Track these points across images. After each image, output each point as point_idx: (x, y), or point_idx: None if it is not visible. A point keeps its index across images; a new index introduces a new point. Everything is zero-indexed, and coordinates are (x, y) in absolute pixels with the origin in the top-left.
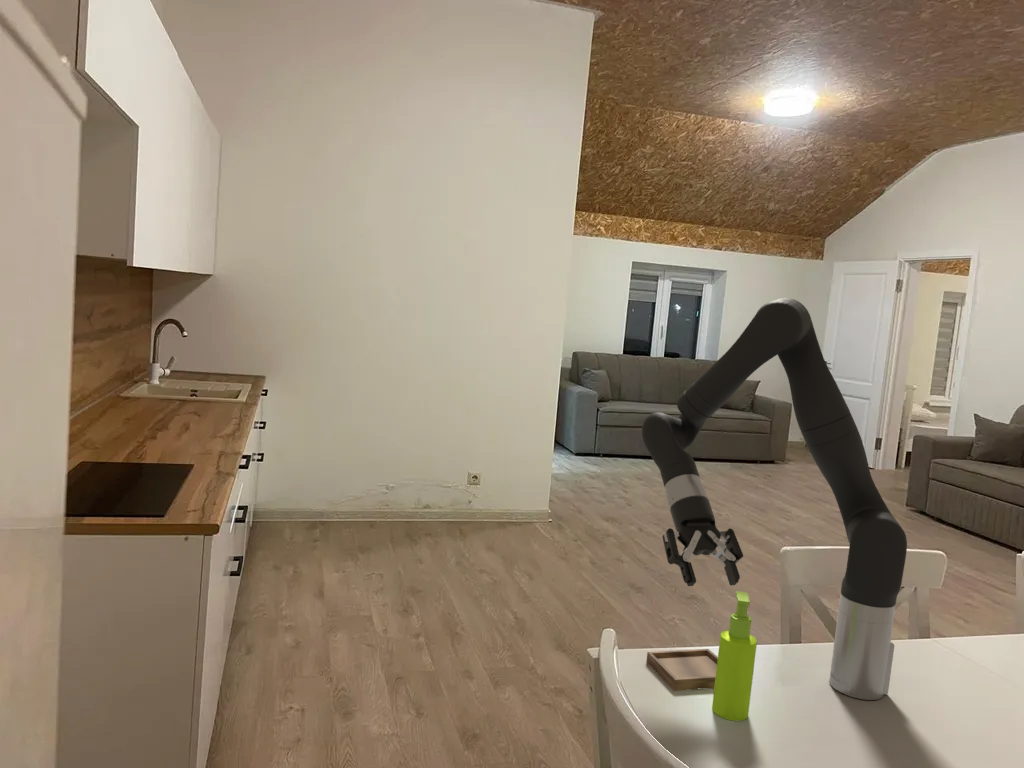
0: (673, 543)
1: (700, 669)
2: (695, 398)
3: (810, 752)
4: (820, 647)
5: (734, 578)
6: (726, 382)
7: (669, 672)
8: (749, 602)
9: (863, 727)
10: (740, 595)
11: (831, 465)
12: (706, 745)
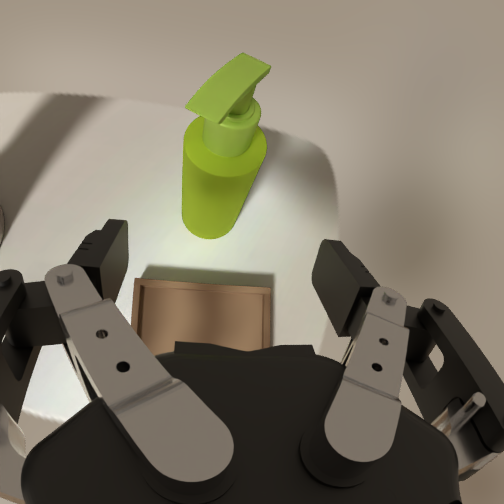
0: (472, 357)
1: (187, 332)
2: None
3: (169, 116)
4: None
5: (124, 226)
6: None
7: (267, 315)
8: (243, 53)
9: (56, 146)
10: (245, 76)
11: None
12: (291, 157)
